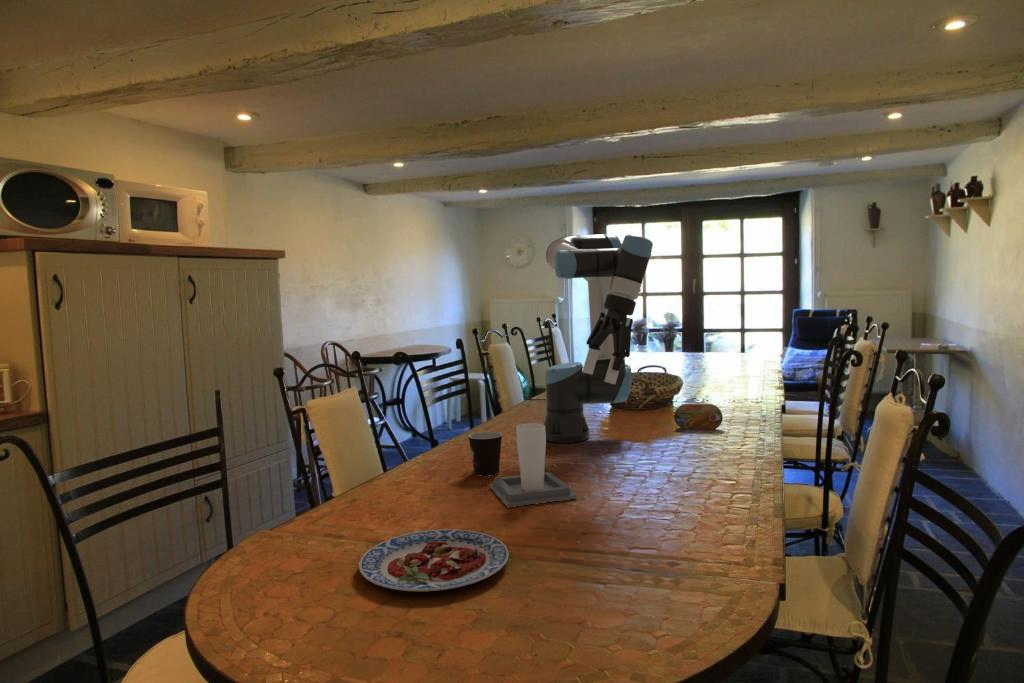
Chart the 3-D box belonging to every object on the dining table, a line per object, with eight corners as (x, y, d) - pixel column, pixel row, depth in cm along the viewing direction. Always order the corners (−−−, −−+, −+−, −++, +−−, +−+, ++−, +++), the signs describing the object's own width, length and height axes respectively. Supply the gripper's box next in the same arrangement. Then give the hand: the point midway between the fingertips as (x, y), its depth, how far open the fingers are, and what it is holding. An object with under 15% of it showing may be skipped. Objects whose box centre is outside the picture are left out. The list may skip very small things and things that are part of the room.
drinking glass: (548, 485, 158) (546, 423, 157) (546, 494, 152) (544, 429, 150) (520, 485, 159) (518, 423, 158) (516, 494, 153) (514, 429, 151)
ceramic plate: (436, 530, 135) (435, 516, 135) (538, 560, 119) (538, 544, 119) (328, 576, 115) (327, 559, 115) (433, 619, 99) (432, 599, 99)
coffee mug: (499, 478, 169) (497, 439, 169) (466, 477, 171) (464, 438, 170) (508, 465, 181) (507, 429, 180) (477, 465, 182) (476, 428, 182)
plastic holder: (489, 487, 162) (489, 477, 161) (552, 480, 166) (552, 470, 166) (507, 508, 146) (507, 497, 146) (576, 499, 151) (575, 488, 150)
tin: (674, 429, 218) (673, 403, 218) (674, 427, 221) (674, 402, 221) (722, 431, 214) (722, 404, 213) (722, 428, 217) (722, 403, 216)
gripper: (659, 304, 158) (633, 391, 159) (613, 297, 181) (591, 373, 182) (632, 296, 155) (606, 383, 156) (588, 290, 179) (566, 366, 180)
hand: (598, 378), depth 169 cm, fingers open, 13 cm apart
